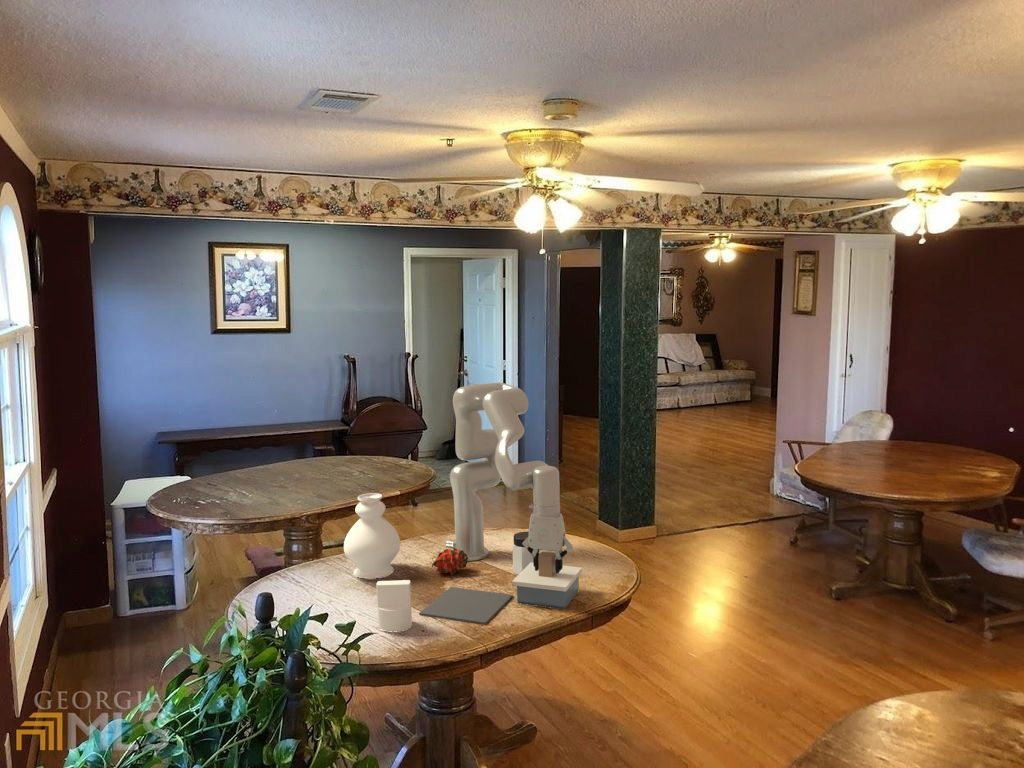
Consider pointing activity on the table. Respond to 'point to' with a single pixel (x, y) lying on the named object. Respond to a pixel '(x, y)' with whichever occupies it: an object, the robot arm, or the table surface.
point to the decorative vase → (371, 539)
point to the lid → (547, 574)
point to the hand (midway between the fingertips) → (548, 569)
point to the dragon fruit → (450, 561)
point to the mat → (467, 605)
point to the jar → (521, 553)
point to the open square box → (547, 596)
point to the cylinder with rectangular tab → (394, 605)
